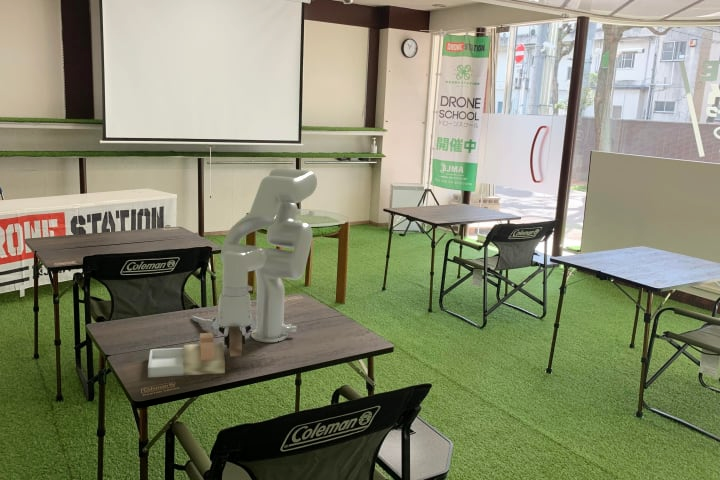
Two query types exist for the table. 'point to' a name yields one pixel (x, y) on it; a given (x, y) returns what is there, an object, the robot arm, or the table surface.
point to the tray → (166, 362)
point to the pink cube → (206, 338)
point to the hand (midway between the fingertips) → (234, 345)
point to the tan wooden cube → (207, 351)
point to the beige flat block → (197, 366)
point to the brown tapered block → (235, 341)
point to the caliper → (207, 322)
